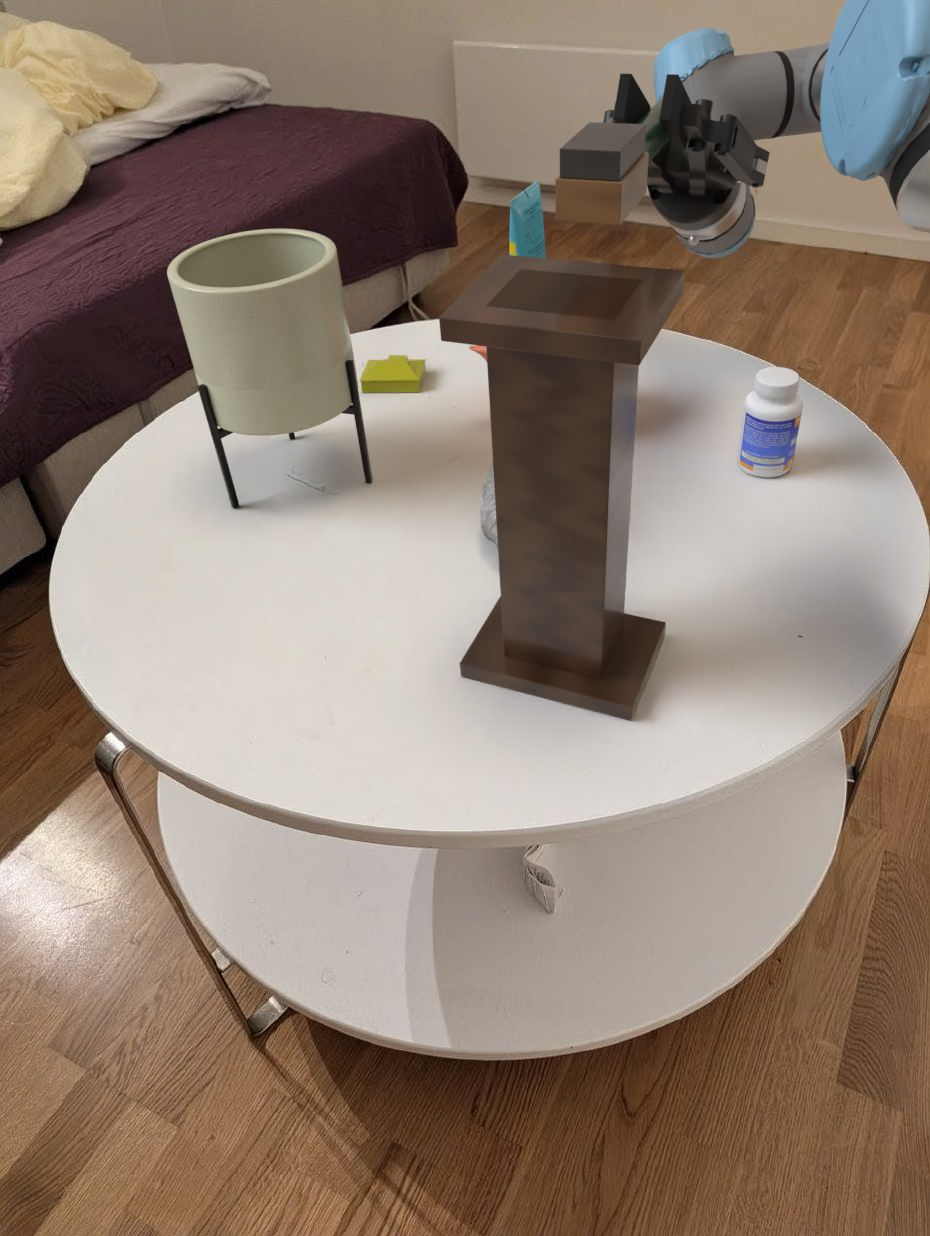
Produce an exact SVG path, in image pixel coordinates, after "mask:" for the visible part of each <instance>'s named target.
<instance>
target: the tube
mask: <svg viewBox="0 0 930 1236" xmlns="http://www.w3.org/2000/svg"><path fill="white" fill-rule="evenodd" d="M540 185H541V184H540V181H539V180H535V181H534V182H533V183H531V185H529V186H528V187H527V188H525V189H524V190H523V191H521V192H520V193H518V194H517V195H516V196H515V197H513V198H512V199H511V200H510V207H509V208H510V211H509V212H510V213H509V240H508V241H509V245H508V246H509V249H508V250H509V255H512V256H523V257H535V258H546V259H547V257H546V255H547V254H546V239H545V225H544V224H545V223H544V222H545V221H544V212H543V200H542V194H541V186H540Z"/></svg>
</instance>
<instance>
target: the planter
mask: <svg viewBox="0 0 930 1236" xmlns="http://www.w3.org/2000/svg"><path fill="white" fill-rule="evenodd" d="M166 275H167V279H168V282H169V283H168V284H169V287H170V290H171V293H172V297H173V300H174V304H175V307H176V311H177V314H178V319H179V322H180V325H181V328H182V329H181V330H182V332H183V336H184V339H185V341H186V342H185V343H186V347H187V350H188V353H189V357H190V361H191V363H192V368H193V370H194V374H195V377H196V381H197V384H198V385H197V386H196V387H197V391H198V393H199V394H198V395H199V397H200V401H201V404H202V408H203V411H204V415H205V419H206V422H207V425H208V429H209V432H210V435H211V439H212V442H213V446H214V450H215V454H216V456H217V460H218V464H219V467H220V470H221V473H222V478H223V481H224V484H225V488H226V492H227V495H228V498H229V502H230V505H231V507H232V509H238V508H240V501H239V498H238V495H237V491H236V487H235V485H234V481H233V480H234V479H233V476H232V474H231V473H232V472H231V470H230V466H229V463H228V459H227V456H226V455H227V454H226V452H225V448H224V444H223V442H222V441H223V440H222V439H223V438H225V437H227V436H230V435H231V434H233V433H235V434H240V435H243V436H244V435H245V436H256V437H258V436H259V437H265V436H267V437H269V436H279V435H280V436H281V435H287V434H288V438H289V440H291V441H292V440H295V439H296V435H295V433H296V432H297V433H299V432H302V431H306V430H308V429H312V428H315V427H317V426H320V425H322V424H325V423H327V422H329V421H331V420H332V419H334V418H337V417H338V416H340V415H341V414H342V415H343V414H344V415H345V414H346V415H353V417H354V422H355V429H356V434H357V441H358V447H359V454H360V459H361V465H362V470H363V471H362V472H363V477H364V482H365V484H368V485H371V484H372V483H373V481H374V480H373V475H372V468H371V461H370V456H369V455H370V454H369V448H368V443H367V442H368V441H367V436H366V431H365V424H364V417H363V411H362V405H361V399H360V392H359V381H358V374H357V368H356V362H355V361H356V360H355V355H354V349H353V342H352V337H351V331H350V325H349V324H350V323H349V318H348V312H347V305H346V300H345V293H344V287H343V281H342V275H341V267H340V261H339V255H338V249H337V246H336V244H335V242H334V241H333V240H332V239H331V238H329V237H327V236H326V235H323V234H321V233H318V232H314V231H311V230H306V229H298V228H297V229H296V228H264V229H254V230H253V229H252V230H246V231H239V232H234V233H230V234H226V235H222V236H218V237H215V238H212V239H208V240H206V241H203V242H200V243H198V244H196V245H193V246H191V247H189V248H188V249H186V250H184V251H183V252H181V253H180V254H178V255H176V256H175V257H174V258H173V260H171V262H170V263H169V264H168V266H167V269H166Z"/></svg>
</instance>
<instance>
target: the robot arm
mask: <svg viewBox="0 0 930 1236" xmlns="http://www.w3.org/2000/svg"><path fill="white" fill-rule="evenodd" d="M617 85H618V86H617V92H616V98H615V102H614V109H607V110H605V111H604V116H603V121H602V123H624V124H636V123H637V122H638V121H639V120H640V119H641V118H642V117H643V116H644V115H645V114H646V113H647V112H648V111H649V110H650V109H651V108H652V106H651V104H650V103H649V101H648V99H647V98H646V96H645V94H644V93H643V91H642V89H641V87H640V85H639V84H638V82H637V80H636V79H635V77H634V75H633V74H632V73H619V81H618V84H617ZM653 85H654V95H655V102H654V105H655V104H656V103H657V102H658V101H659V100H660V99H661V98H662V97H663V100H662V106H661V112H660V118H659V121H660V122H661V124H662V126H663V128H664V129H665V131H666V133H667V134H668V136H669V138H670V139H669V141H668V142H667V143H666V144H665V145H664V146H663V147H662V149H661V150H660V151H659V152H658V153H657V154H656V156H655V157H654V158H653V159H652V160H651V161H650V163H649V164H648V175H647V192H648V194H649V195H648V196H649V198H650V201H651V203H652V205H653V206H654V208H655V210H656V211H657V212H658V213H659V215H660V216H661V217H662V218H663V220H665V221H666V222H667V223H668V224H669V226H670V227H671V228H672V229H673V230H674V233H675V234H676V236H677V237H678V239H679V240H680V241H681V244H682V245H683V246H684V247H685V248H686V249H687V250H688V251H690V253H693V254H696V255H698V256H700V257H703V258H706V259H719V258H724V257H727V256H730V255H731V254H733V253H735V252H737V251H738V250H739V249H740V248H741V247H742V246H743V245H744V244H745V243H746V242H747V240H748V239H749V238H750V236H751V234H752V232H753V230H754V226H755V222H756V216H757V215H756V203H755V197H754V195H753V194H752V192H751V187H752V188H753V189H759V188H761V187H764V185H765V178H766V174H767V170H768V169H767V168H768V164H769V159H770V153H771V152H770V151H768V150H766V149H764V148H763V147H761V146H758V145H757V143H756V142H755V141H761V140H770V139H776V138H781V137H782V138H783V137H789V136H797V135H806V134H807V135H808V134H814V133H821V138H822V143H823V148H824V152H825V153H826V156H827V158H828V161H829V162H830V164H831V166H832V167H833V168H834V170H835V171H836V172H837V173H839V174H840V175H841V176H845V177H850V178H851V179H857V180H858V181H862V182H866V181H868V180H872V179H876V178H877V177H881V178H882V179H883V180H884V182H885V184H886V187H887V189H888V192H889V194H890V198H891V199H892V202H893V204H894V207H895V210H896V212H897V215H898V218H899V219H900V220H901V222H902V223H903V225H905V226H906V227H908V228H910V229H912V230H914V231H919V232H923V233H928V234H929V233H930V0H845V1H844V4H843V6H842V9H841V11H840V13H839V15H838V18H837V20H836V23H835V26H834V29H833V31H832V35H831V38H830V41H829V42H827V43H824V44H818V45H812V46H804V47H798V48H790V49H785V50H774V51H772V50H770V51H762V52H753V53H746V54H740V55H739V54H738V55H735V48H734V47H733V45H732V41H731V38H730V36H729V34H728V33H727V32H726V31H724V30H721V29H716V28H711V27H709V28H700V29H695V30H692V31H689V32H686V33H684V34H682V35H679V36H677V37H676V38H674V39H672V40H671V41H669V42H668V43H667V44H665V45H664V46H663V47H662V48H661V49H660V51H659V53H658V54H657V56H656V58H655V60H654V62H653Z"/></svg>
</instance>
